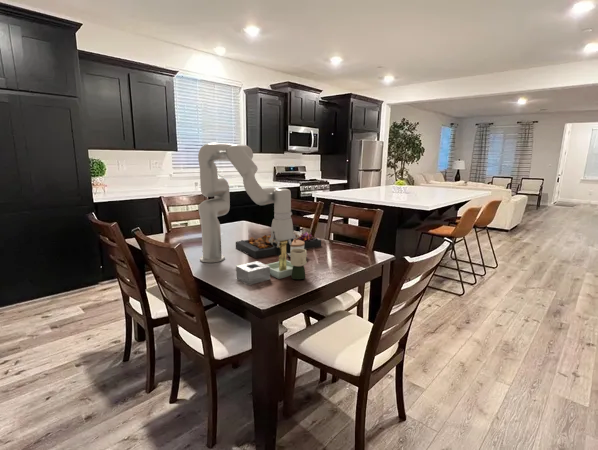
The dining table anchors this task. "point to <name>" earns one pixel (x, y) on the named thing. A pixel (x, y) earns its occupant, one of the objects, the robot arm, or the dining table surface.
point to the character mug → (298, 263)
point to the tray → (280, 274)
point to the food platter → (265, 248)
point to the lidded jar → (296, 245)
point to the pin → (283, 256)
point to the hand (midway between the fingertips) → (282, 253)
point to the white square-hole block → (253, 272)
